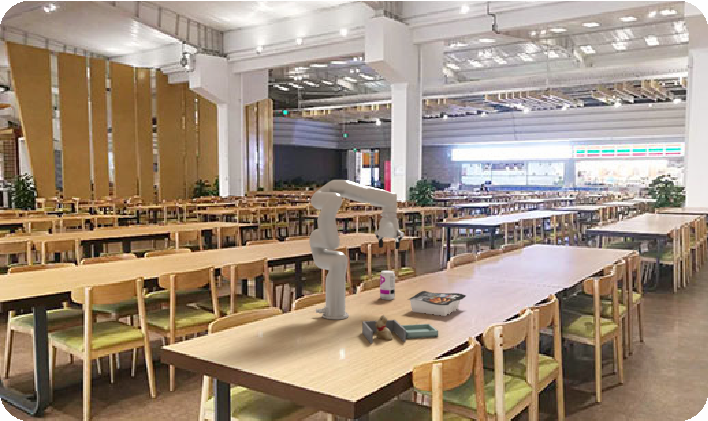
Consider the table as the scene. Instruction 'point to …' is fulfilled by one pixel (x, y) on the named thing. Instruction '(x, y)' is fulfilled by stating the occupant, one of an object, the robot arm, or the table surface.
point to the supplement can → (387, 285)
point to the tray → (420, 331)
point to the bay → (392, 325)
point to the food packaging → (435, 302)
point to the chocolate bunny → (383, 329)
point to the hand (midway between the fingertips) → (389, 248)
